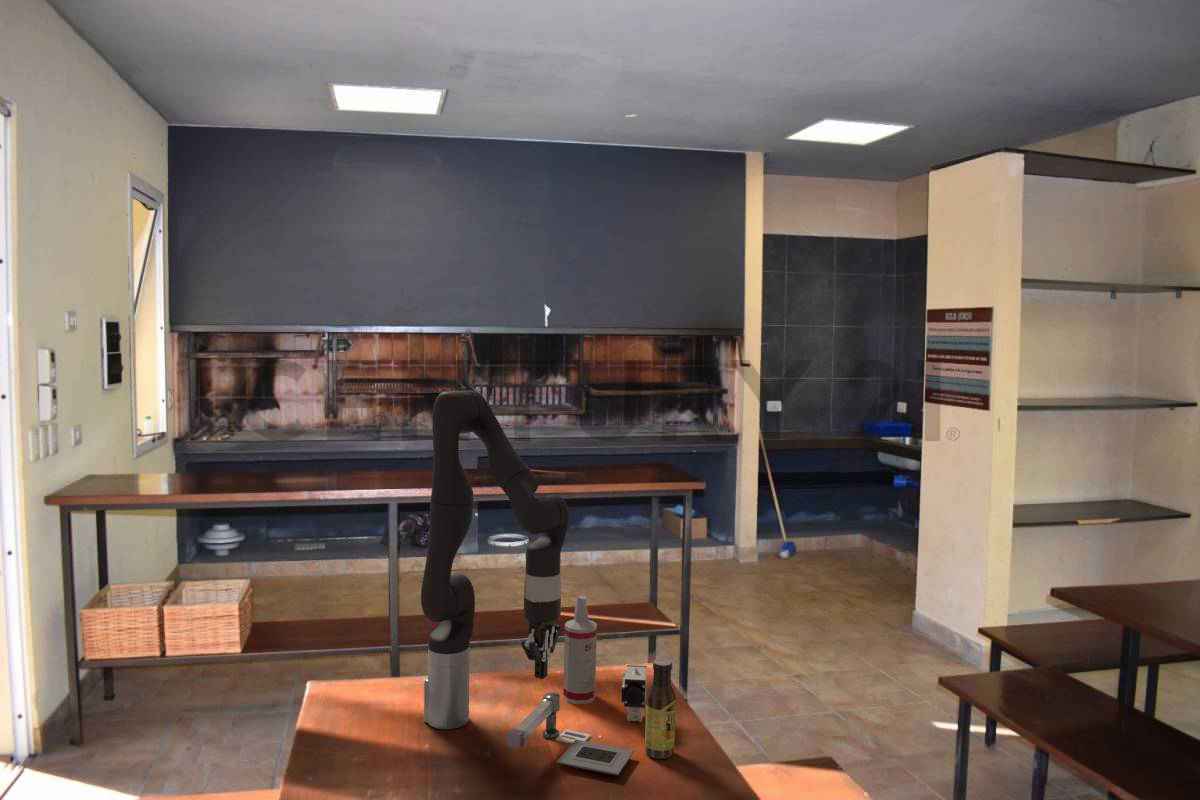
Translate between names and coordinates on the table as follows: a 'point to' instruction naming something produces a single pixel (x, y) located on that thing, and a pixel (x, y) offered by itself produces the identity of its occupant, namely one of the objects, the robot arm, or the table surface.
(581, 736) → the label plate
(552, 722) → the arm post
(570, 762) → the electrical outlet
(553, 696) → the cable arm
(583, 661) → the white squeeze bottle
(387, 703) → the table surface
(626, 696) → the pneumatic valve
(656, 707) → the sauce bottle
